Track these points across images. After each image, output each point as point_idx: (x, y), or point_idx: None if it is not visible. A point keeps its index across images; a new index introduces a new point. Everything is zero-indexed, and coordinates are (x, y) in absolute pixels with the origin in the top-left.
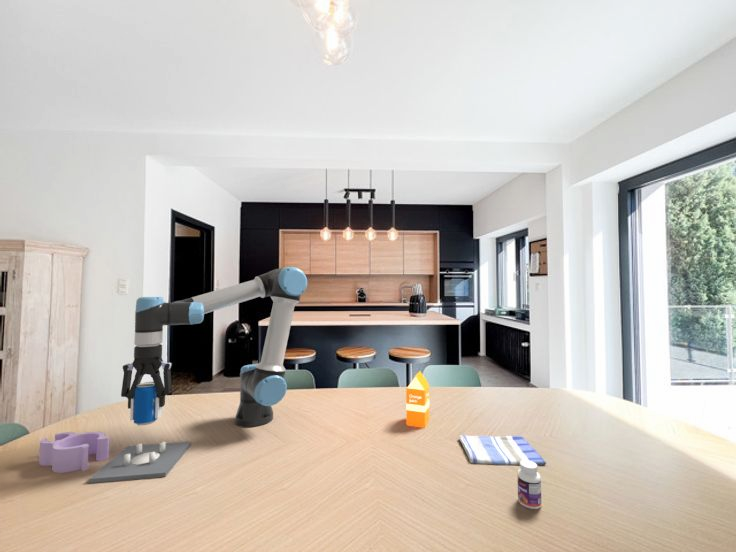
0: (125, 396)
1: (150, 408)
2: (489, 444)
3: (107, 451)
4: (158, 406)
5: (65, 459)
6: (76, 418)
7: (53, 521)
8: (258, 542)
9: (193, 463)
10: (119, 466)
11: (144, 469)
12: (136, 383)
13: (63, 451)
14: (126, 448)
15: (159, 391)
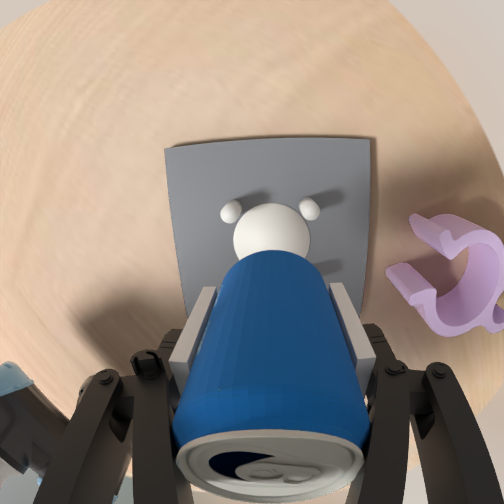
0: (420, 373)
1: (220, 302)
2: None
3: (394, 277)
4: (188, 327)
5: (464, 221)
6: None
7: (329, 6)
8: (8, 26)
9: (131, 215)
10: (324, 198)
11: (235, 169)
12: (368, 473)
13: (480, 227)
14: (358, 307)
15: (148, 398)
